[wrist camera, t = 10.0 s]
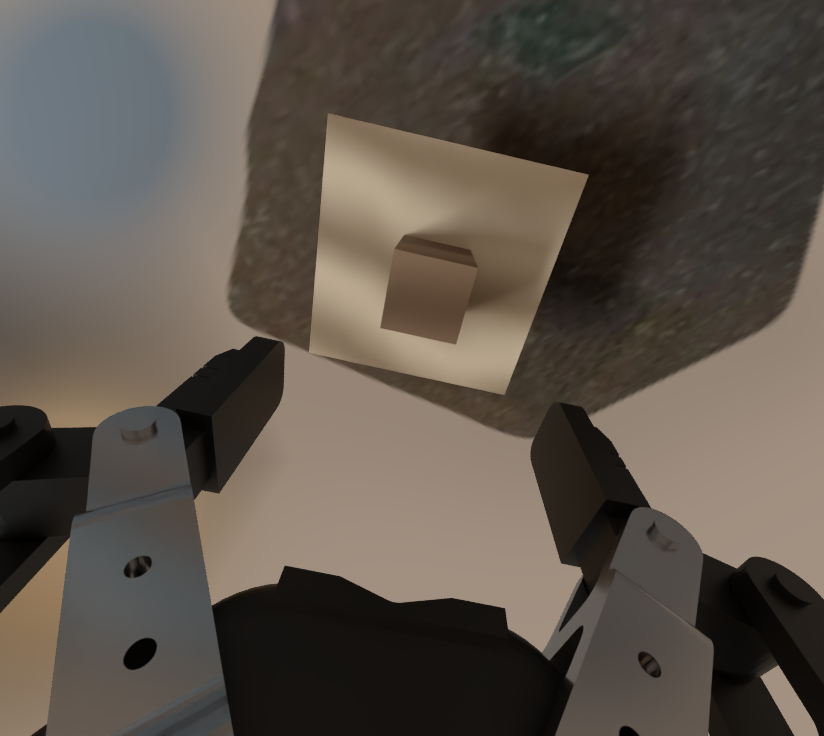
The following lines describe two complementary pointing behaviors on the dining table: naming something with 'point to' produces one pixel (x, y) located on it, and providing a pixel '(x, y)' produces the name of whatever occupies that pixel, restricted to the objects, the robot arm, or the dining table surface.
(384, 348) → the lid
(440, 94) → the dining table surface
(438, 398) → the dining table surface
